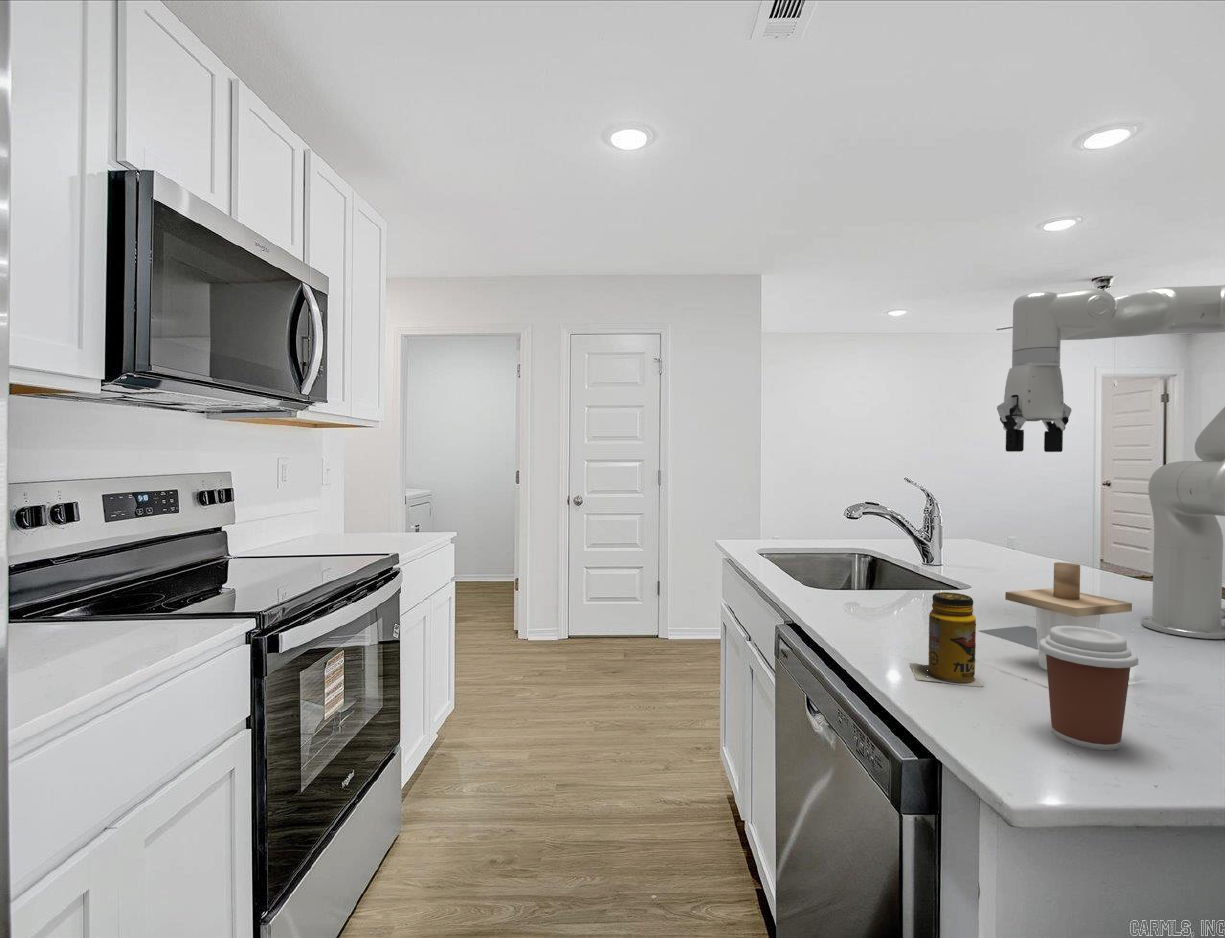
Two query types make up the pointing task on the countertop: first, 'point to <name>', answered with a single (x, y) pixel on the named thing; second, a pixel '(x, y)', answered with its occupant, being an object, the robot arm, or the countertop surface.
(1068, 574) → the lid
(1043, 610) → the white cup
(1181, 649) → the countertop surface
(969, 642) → the condiment
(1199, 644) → the countertop surface
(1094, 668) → the coffee cup
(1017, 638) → the mat
